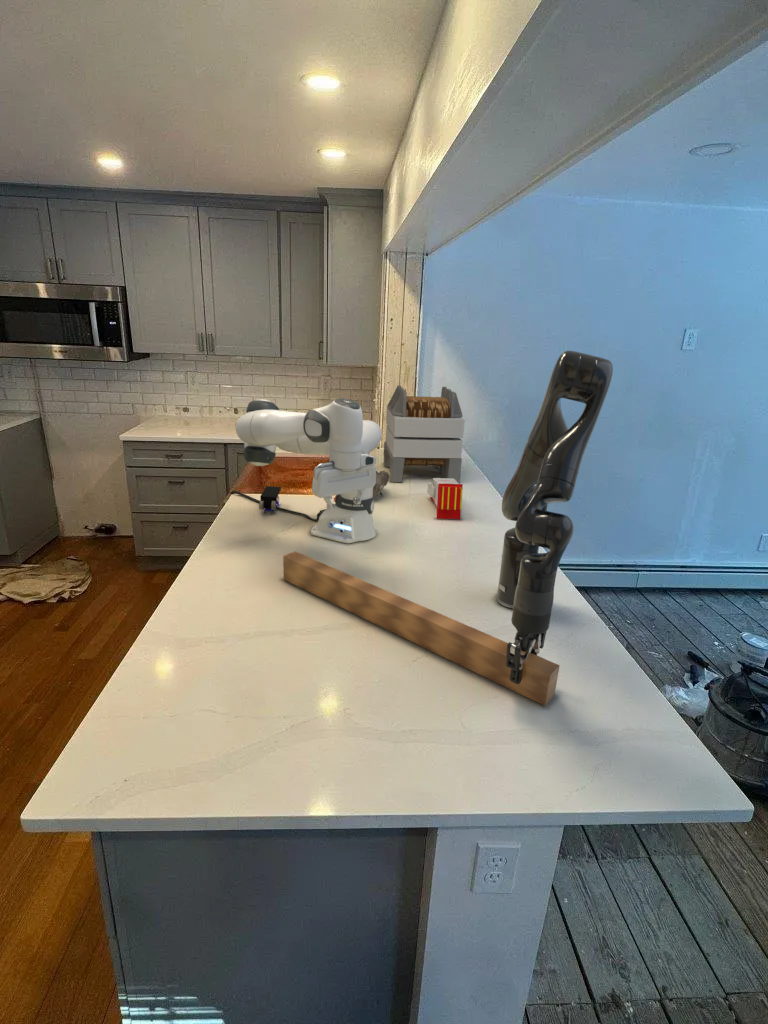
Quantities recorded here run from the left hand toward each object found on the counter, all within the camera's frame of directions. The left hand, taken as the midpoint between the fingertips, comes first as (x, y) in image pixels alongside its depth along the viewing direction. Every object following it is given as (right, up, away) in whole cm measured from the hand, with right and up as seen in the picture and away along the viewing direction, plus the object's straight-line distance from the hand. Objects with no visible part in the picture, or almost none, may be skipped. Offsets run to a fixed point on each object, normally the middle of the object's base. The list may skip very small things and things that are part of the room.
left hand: (344, 506), depth 161 cm
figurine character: (-32, -1, +57) cm, 65 cm away
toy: (+35, 0, +68) cm, 77 cm away
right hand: (+41, -36, -41) cm, 68 cm away
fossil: (+7, +6, +79) cm, 80 cm away
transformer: (+29, +17, +114) cm, 119 cm away
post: (+15, -30, -20) cm, 39 cm away
